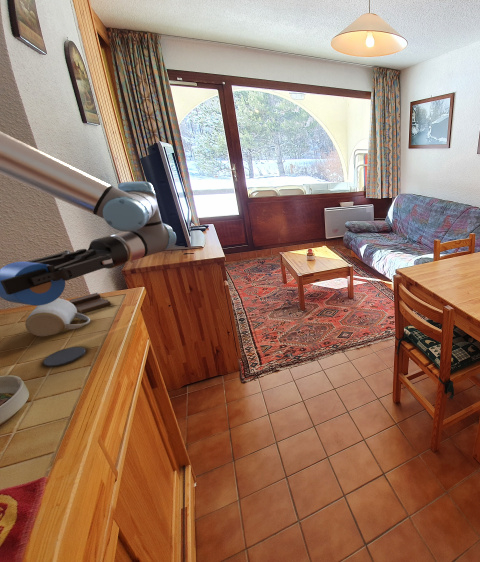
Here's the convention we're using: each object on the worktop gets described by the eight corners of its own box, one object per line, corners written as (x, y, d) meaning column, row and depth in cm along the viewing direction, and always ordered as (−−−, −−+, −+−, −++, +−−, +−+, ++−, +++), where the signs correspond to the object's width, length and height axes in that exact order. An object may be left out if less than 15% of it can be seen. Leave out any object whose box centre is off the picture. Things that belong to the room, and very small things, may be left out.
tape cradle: (112, 307, 91) (110, 301, 91) (83, 316, 86) (81, 310, 86) (99, 298, 97) (96, 292, 96) (71, 306, 92) (68, 300, 91)
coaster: (35, 366, 67) (34, 363, 66) (67, 347, 73) (66, 345, 73) (63, 368, 66) (62, 366, 66) (93, 350, 72) (92, 348, 72)
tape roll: (5, 310, 61) (-18, 271, 57) (54, 291, 68) (37, 255, 65) (24, 313, 60) (2, 273, 56) (72, 293, 67) (55, 257, 64)
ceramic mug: (29, 342, 74) (16, 314, 72) (44, 326, 81) (32, 299, 78) (85, 332, 79) (75, 306, 76) (95, 318, 86) (86, 293, 83)
